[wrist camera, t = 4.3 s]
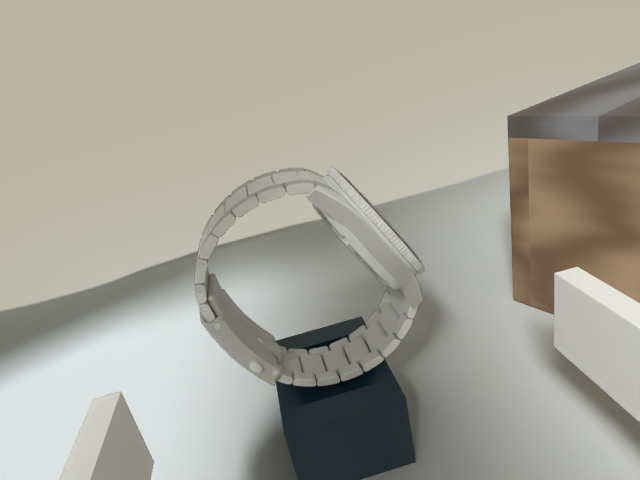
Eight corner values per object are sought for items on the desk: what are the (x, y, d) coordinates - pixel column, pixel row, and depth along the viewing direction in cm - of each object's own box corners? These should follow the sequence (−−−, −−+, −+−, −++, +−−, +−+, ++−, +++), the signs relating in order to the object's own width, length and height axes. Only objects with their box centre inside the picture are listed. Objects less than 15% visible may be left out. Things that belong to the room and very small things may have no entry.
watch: (464, 445, 17) (436, 163, 13) (256, 513, 16) (152, 235, 12) (409, 358, 22) (376, 135, 18) (248, 405, 21) (174, 184, 17)
